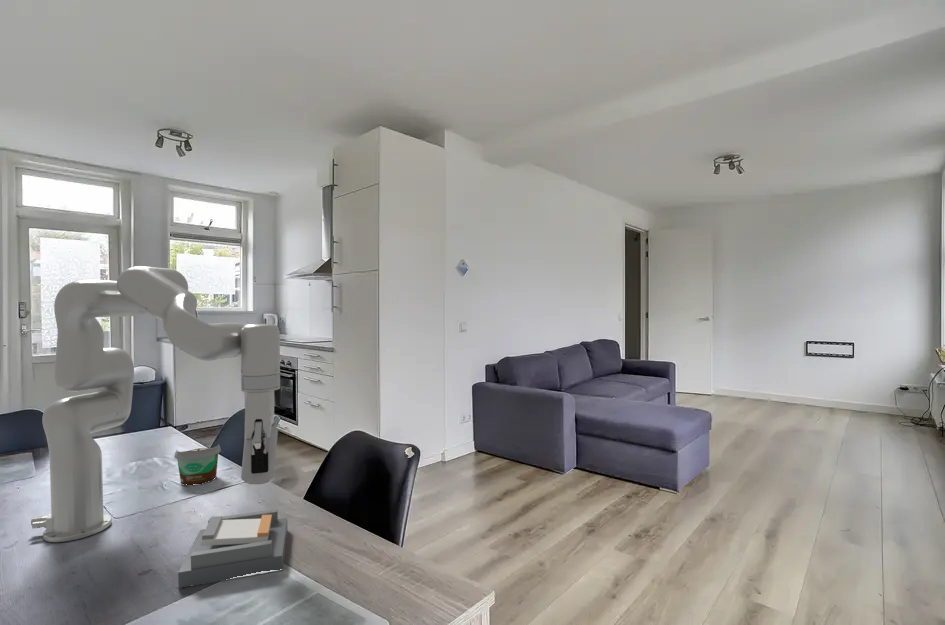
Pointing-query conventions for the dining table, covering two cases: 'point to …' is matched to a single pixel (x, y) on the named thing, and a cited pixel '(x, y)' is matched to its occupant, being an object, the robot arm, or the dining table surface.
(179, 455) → the food container
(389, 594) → the dining table surface
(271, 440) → the beverage can
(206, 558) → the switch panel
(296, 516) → the dining table surface
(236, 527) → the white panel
